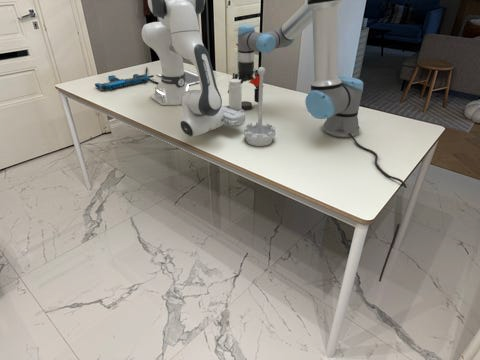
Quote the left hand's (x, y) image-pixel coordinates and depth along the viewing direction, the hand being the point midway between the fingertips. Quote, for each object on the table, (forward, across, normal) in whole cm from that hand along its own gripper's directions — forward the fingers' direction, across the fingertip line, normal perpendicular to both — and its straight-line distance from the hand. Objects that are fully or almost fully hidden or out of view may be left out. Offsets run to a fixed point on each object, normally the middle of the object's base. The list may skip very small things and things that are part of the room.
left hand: (236, 108), depth 154 cm
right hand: (+16, +9, +5) cm, 19 cm away
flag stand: (-7, -20, +7) cm, 22 cm away
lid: (+17, +10, +5) cm, 20 cm away
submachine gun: (-3, +93, +7) cm, 93 cm away
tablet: (+28, +74, +7) cm, 79 cm away
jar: (-1, 0, +7) cm, 7 cm away
